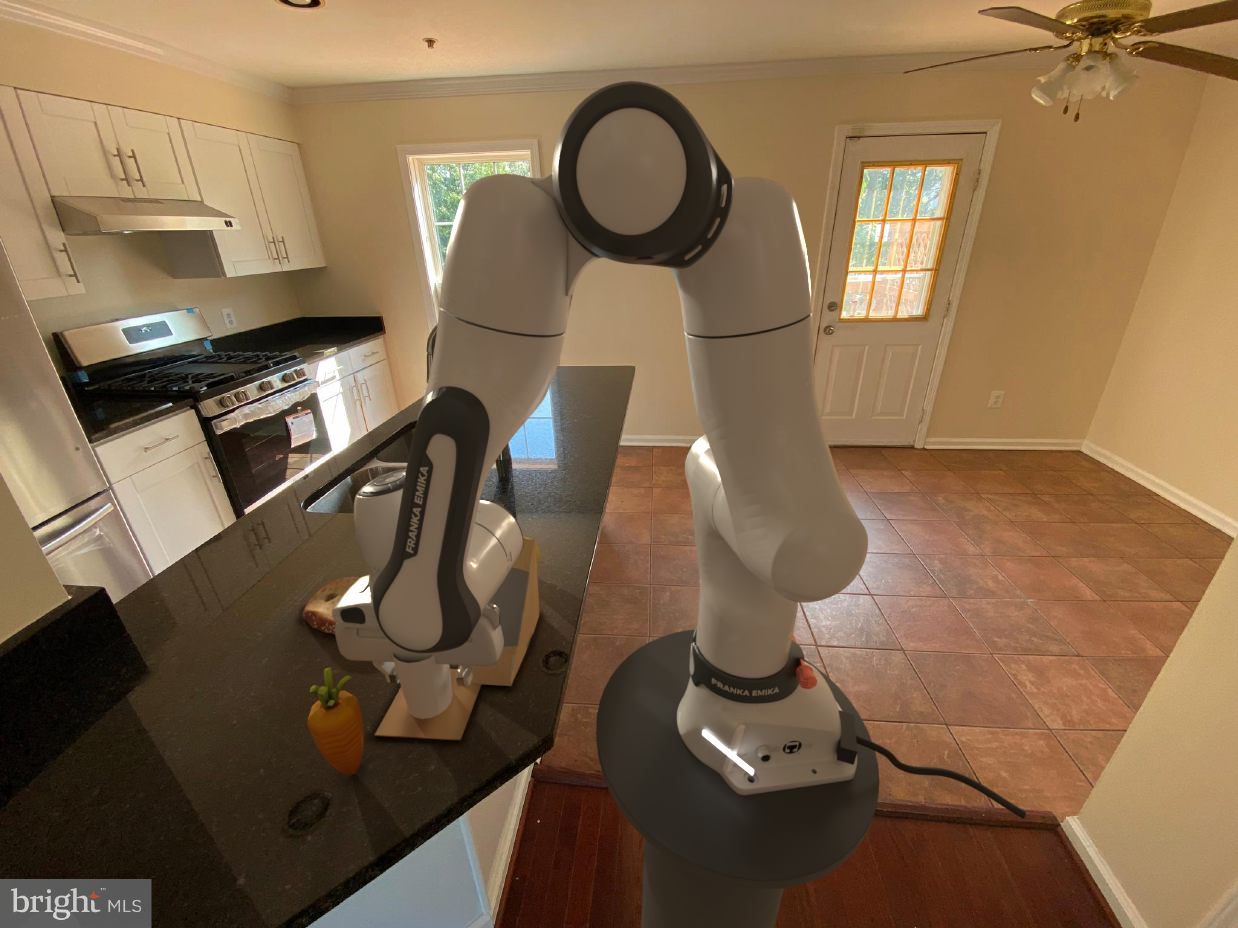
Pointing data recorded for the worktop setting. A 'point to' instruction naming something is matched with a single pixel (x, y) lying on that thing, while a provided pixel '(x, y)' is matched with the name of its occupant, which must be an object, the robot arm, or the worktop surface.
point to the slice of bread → (326, 605)
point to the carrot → (337, 725)
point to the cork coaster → (437, 727)
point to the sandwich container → (514, 618)
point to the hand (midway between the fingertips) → (430, 680)
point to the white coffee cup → (425, 686)
